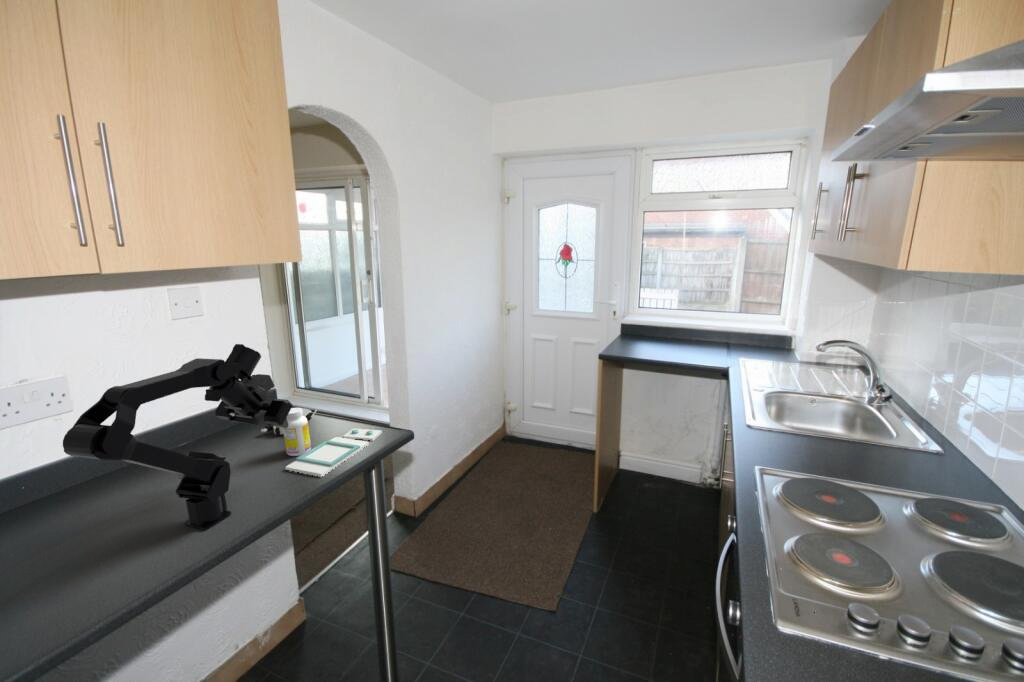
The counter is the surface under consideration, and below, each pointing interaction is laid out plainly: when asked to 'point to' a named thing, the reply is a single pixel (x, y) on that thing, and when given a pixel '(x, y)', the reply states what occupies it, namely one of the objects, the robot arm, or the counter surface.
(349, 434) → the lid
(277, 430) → the robot toy
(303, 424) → the supplement bottle
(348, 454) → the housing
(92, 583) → the counter surface
